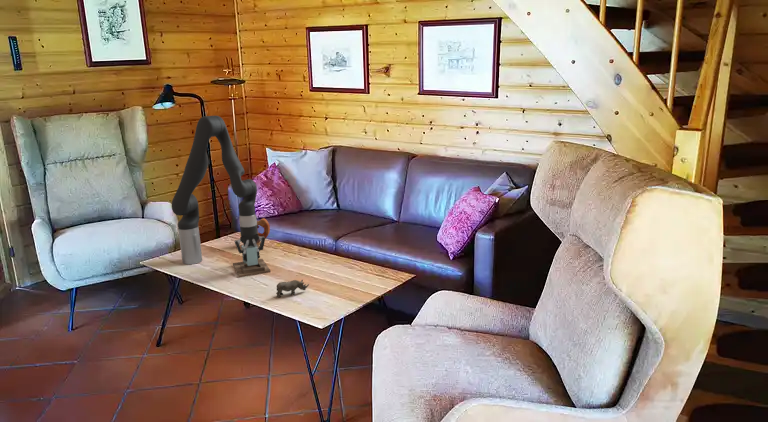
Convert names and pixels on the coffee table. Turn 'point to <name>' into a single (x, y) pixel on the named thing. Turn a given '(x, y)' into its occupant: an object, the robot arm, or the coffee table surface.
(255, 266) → the walnut board
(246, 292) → the coffee table surface
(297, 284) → the rhino figurine
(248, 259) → the teal block
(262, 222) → the mug
